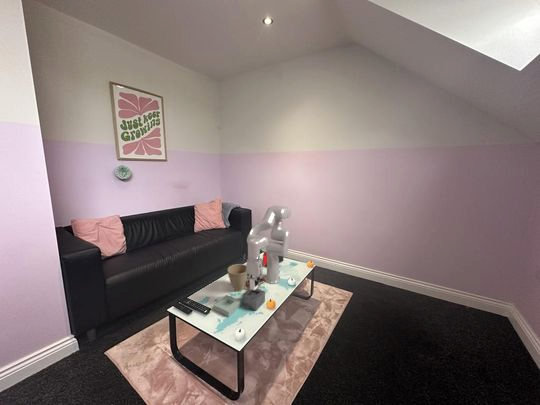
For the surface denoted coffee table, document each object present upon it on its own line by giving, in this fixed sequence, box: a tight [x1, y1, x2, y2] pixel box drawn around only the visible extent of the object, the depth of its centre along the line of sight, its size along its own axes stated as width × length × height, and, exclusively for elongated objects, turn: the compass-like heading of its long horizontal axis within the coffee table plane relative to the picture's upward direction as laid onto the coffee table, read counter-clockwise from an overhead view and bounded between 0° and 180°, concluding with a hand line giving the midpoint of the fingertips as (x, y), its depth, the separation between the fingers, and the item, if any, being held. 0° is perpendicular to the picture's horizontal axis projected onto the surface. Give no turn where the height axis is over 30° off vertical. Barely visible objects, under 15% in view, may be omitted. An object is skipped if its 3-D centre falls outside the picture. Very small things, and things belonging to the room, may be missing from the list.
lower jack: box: [213, 294, 242, 318], centre depth 132 cm, size 12×12×4 cm
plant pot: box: [227, 263, 248, 292], centre depth 152 cm, size 15×15×16 cm
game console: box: [262, 251, 285, 268], centre depth 192 cm, size 28×6×15 cm, turn 139°
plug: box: [249, 276, 259, 290], centre depth 135 cm, size 4×3×7 cm
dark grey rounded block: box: [241, 287, 266, 312], centre depth 136 cm, size 11×11×8 cm
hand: (253, 284), depth 135 cm, fingers closed on plug, 3 cm apart
